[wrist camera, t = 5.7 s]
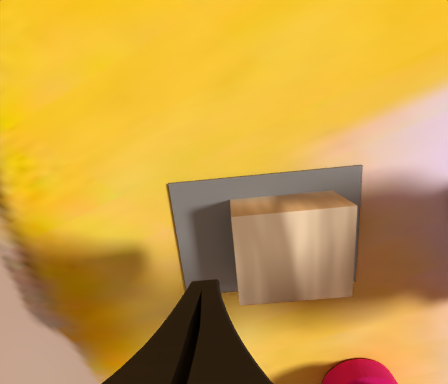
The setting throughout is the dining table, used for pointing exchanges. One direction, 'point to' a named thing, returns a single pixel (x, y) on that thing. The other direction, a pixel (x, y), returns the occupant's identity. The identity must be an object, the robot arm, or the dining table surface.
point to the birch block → (294, 247)
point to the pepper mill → (359, 373)
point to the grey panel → (221, 214)
